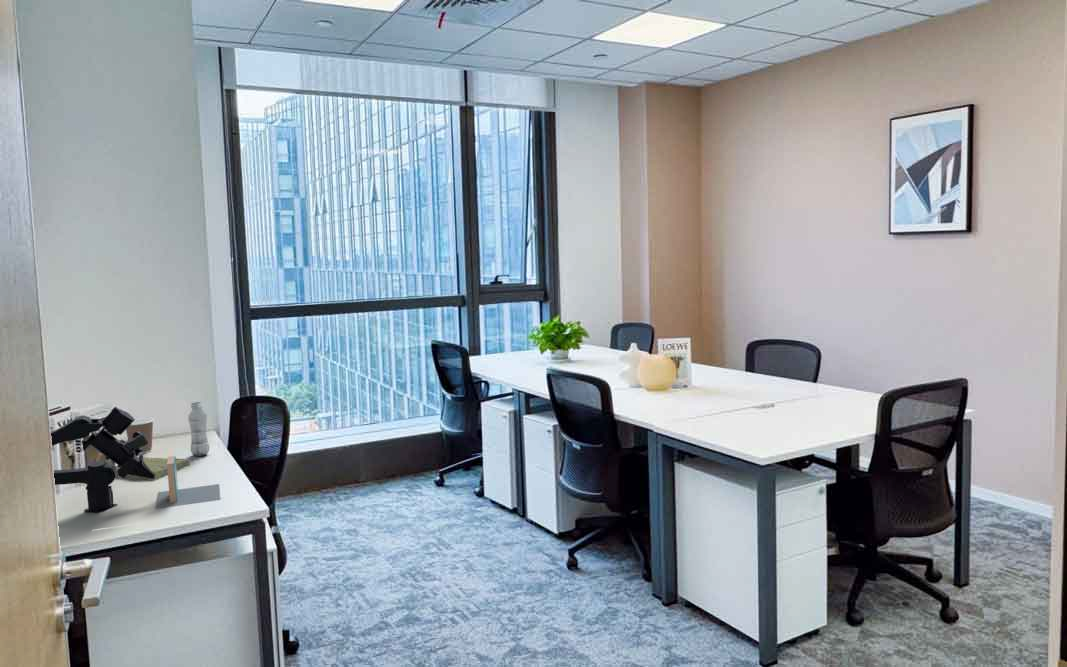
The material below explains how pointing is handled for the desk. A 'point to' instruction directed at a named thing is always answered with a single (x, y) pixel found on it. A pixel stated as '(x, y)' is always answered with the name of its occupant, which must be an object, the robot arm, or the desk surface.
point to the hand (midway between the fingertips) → (154, 477)
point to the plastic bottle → (198, 430)
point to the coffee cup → (142, 426)
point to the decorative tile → (158, 467)
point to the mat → (189, 496)
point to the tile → (172, 479)
